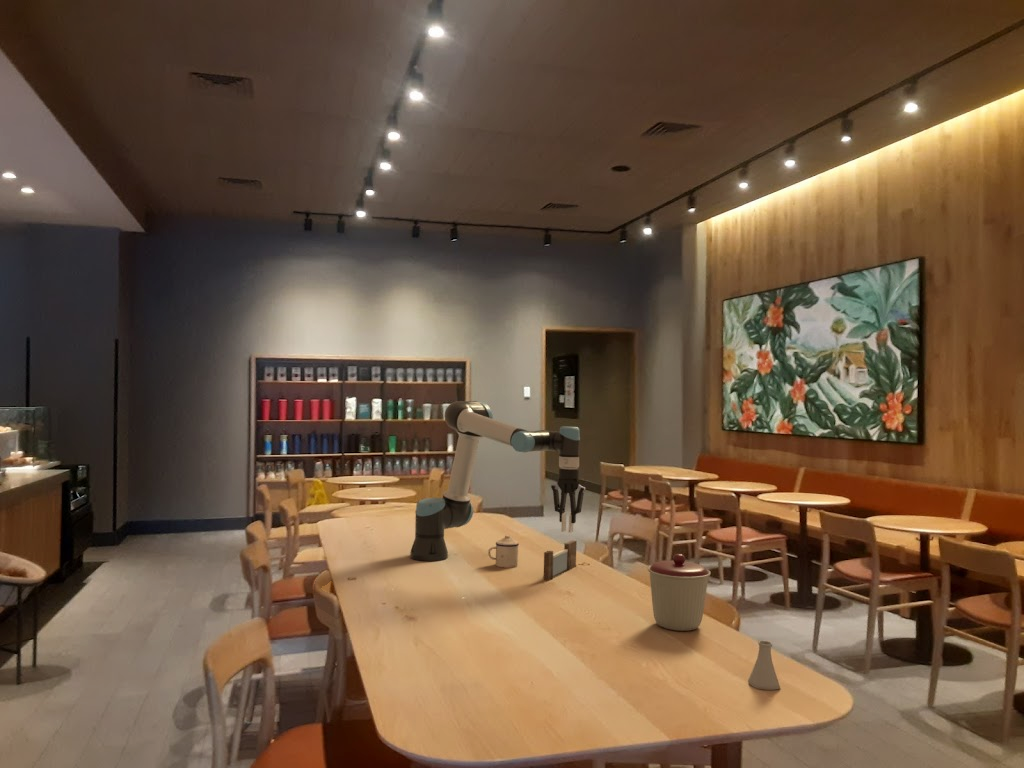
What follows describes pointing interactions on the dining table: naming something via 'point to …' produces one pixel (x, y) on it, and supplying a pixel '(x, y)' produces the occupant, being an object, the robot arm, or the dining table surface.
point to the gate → (560, 561)
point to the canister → (678, 593)
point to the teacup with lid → (506, 552)
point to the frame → (549, 560)
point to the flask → (764, 669)
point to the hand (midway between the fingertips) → (567, 531)
